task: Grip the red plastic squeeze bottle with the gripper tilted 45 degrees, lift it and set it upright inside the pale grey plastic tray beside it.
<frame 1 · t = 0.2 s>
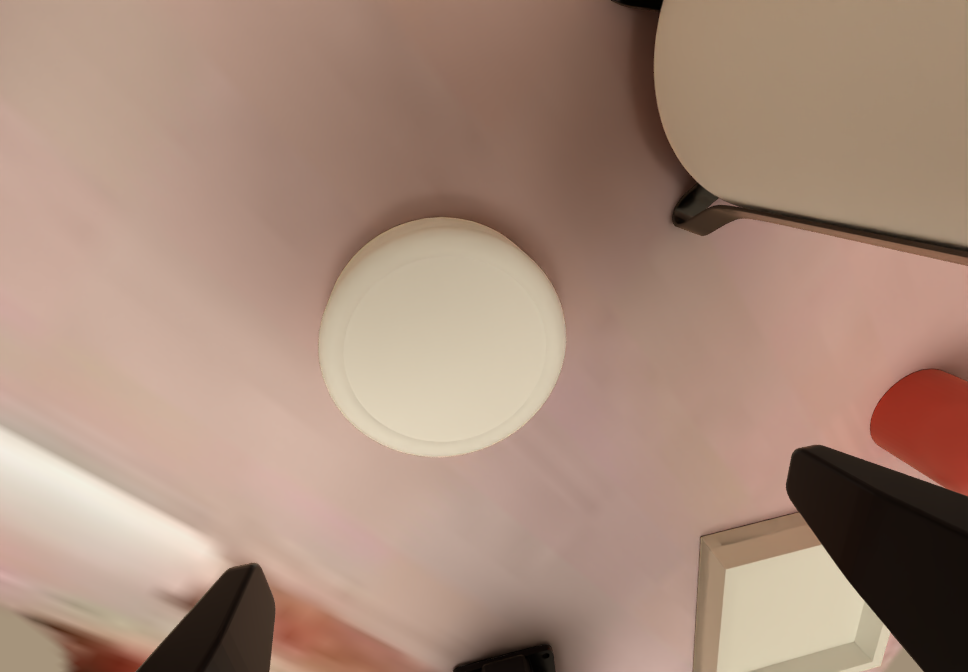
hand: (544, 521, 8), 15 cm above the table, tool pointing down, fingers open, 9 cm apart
cream round disc: (440, 324, 22), on the table
squeeze bottle: (912, 410, 29), on the table
coffee press: (782, 31, 20), on the table
tray: (783, 590, 34), on the table
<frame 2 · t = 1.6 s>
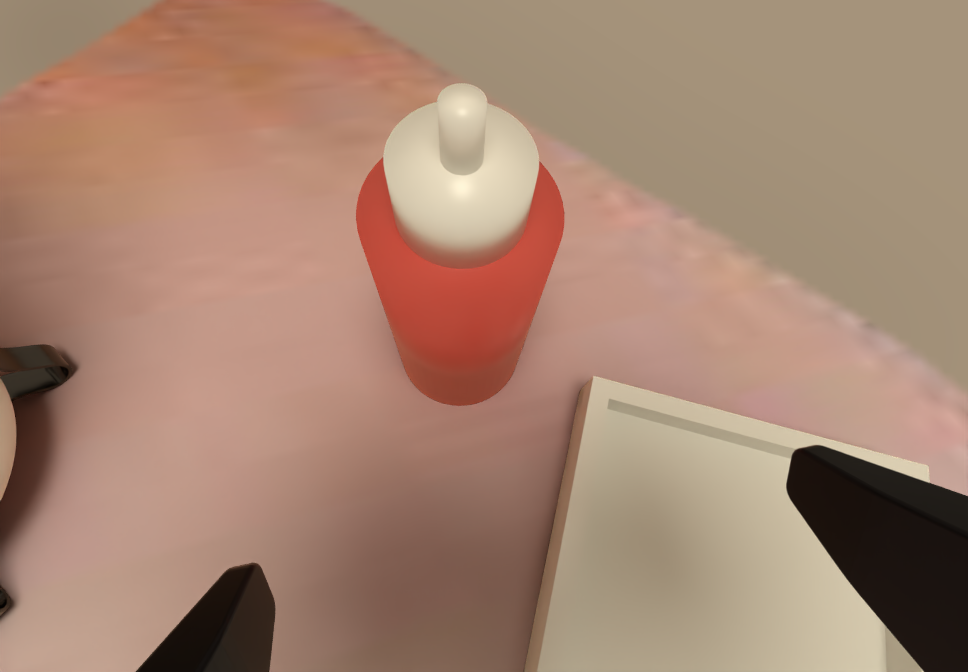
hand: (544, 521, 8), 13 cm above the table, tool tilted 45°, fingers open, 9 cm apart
squeeze bottle: (460, 348, 23), on the table
tray: (715, 582, 20), on the table
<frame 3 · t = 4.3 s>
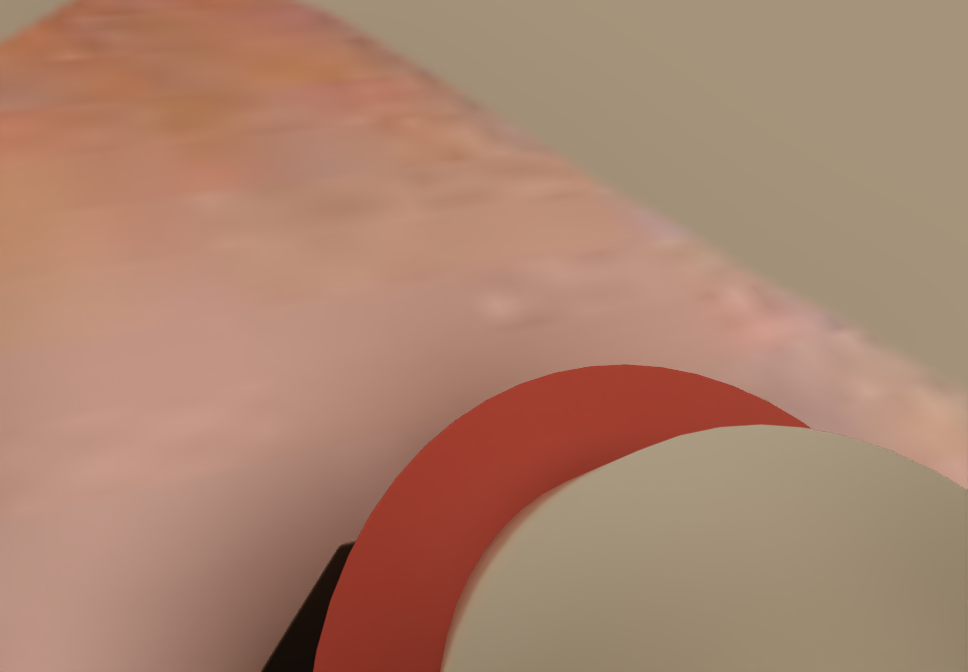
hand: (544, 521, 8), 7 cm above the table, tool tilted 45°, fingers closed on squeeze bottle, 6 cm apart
squeeze bottle: (515, 574, 14), on the table, touching gripper
when the fingers open (9 cm above the table, at t = 8.1 s): squeeze bottle drops 1 cm, resting on tray.
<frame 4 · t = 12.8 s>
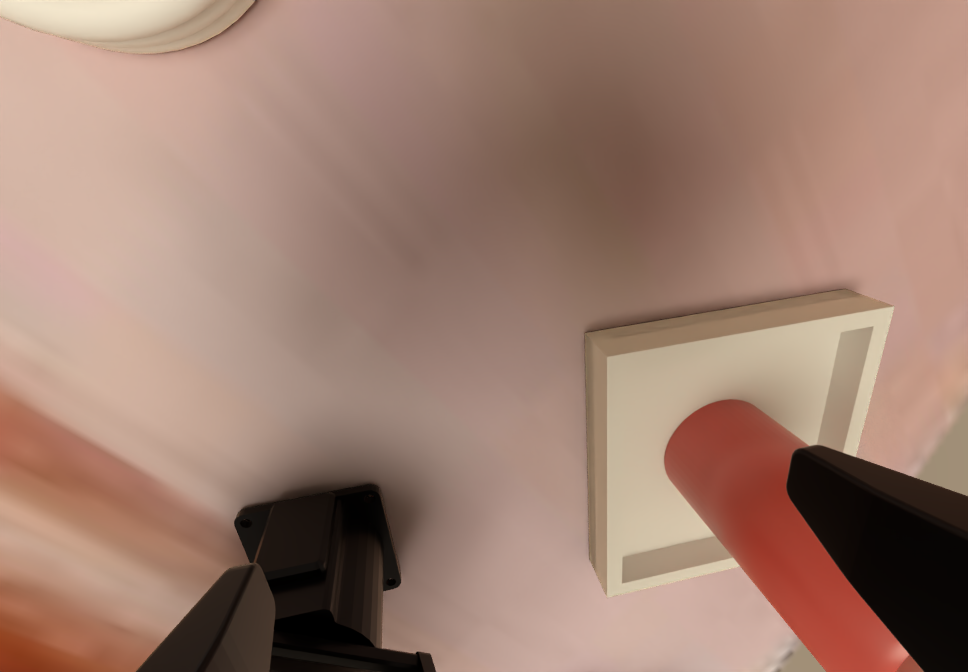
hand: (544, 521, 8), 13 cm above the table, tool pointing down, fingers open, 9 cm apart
squeeze bottle: (716, 448, 24), point 1 cm above the table, touching tray
tray: (706, 435, 25), on the table
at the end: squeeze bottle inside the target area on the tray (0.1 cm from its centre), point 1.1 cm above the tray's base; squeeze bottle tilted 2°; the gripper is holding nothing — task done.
